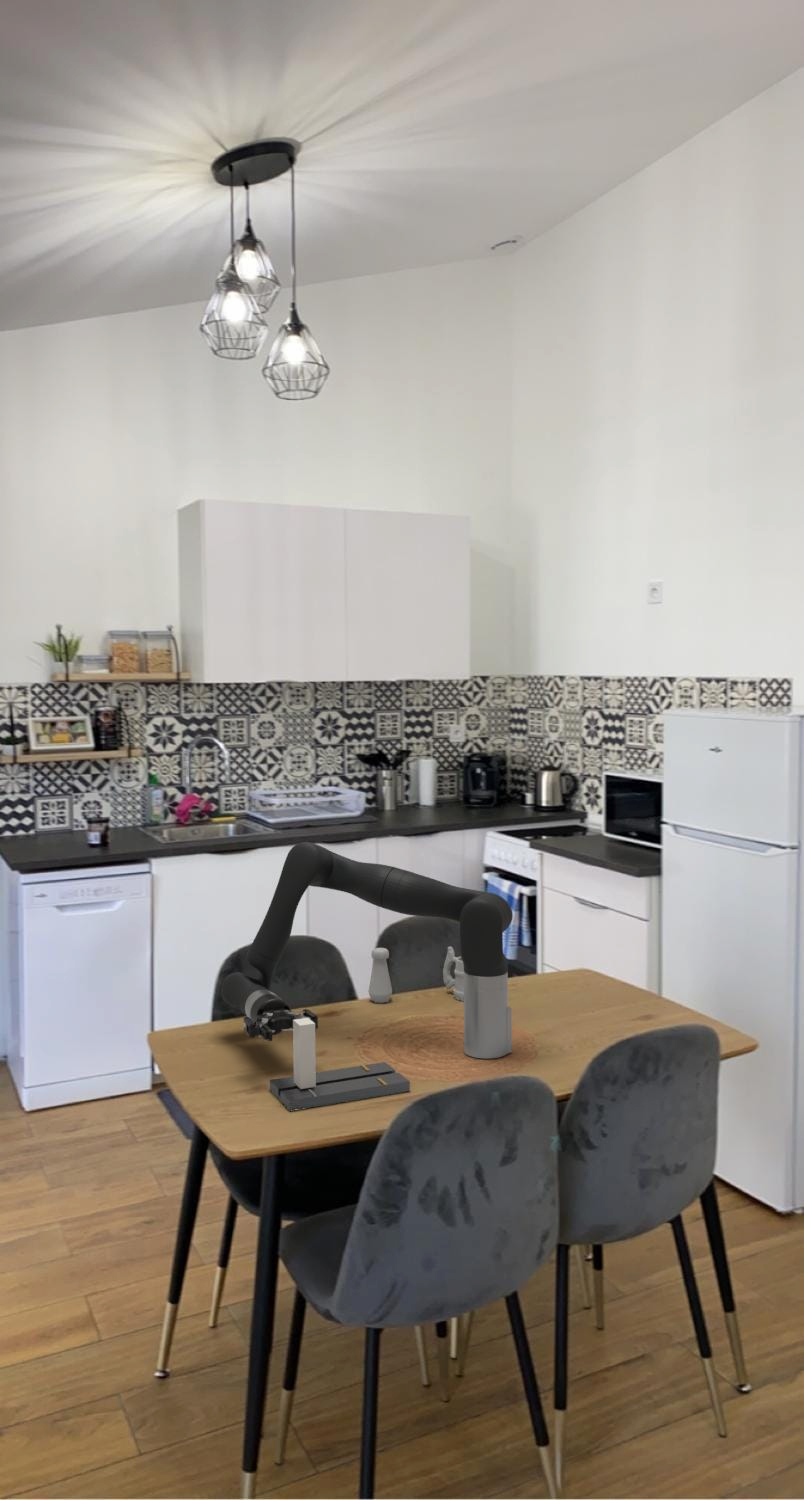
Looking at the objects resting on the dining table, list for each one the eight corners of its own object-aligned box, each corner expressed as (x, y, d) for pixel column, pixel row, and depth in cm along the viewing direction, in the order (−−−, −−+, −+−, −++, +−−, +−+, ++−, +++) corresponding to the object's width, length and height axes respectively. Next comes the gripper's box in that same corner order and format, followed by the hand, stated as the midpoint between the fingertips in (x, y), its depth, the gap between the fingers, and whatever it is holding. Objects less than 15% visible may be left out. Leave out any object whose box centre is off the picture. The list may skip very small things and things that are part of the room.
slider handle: (308, 1085, 212) (308, 1017, 211) (315, 1092, 208) (315, 1023, 207) (293, 1087, 210) (293, 1019, 210) (300, 1094, 207) (299, 1025, 206)
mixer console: (384, 1071, 223) (384, 1060, 222) (409, 1091, 212) (409, 1080, 211) (269, 1090, 213) (269, 1078, 213) (289, 1111, 202) (289, 1099, 202)
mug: (471, 1004, 270) (471, 955, 269) (434, 995, 278) (433, 948, 277) (490, 997, 276) (490, 949, 275) (453, 989, 283) (452, 942, 283)
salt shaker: (389, 1005, 270) (389, 952, 269) (366, 1003, 271) (366, 951, 270) (394, 998, 275) (394, 946, 275) (371, 997, 277) (371, 945, 276)
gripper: (233, 997, 227) (256, 1018, 212) (299, 989, 233) (326, 1009, 218) (234, 1033, 228) (256, 1057, 213) (300, 1024, 233) (326, 1047, 219)
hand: (291, 1033), depth 216 cm, fingers open, 8 cm apart
